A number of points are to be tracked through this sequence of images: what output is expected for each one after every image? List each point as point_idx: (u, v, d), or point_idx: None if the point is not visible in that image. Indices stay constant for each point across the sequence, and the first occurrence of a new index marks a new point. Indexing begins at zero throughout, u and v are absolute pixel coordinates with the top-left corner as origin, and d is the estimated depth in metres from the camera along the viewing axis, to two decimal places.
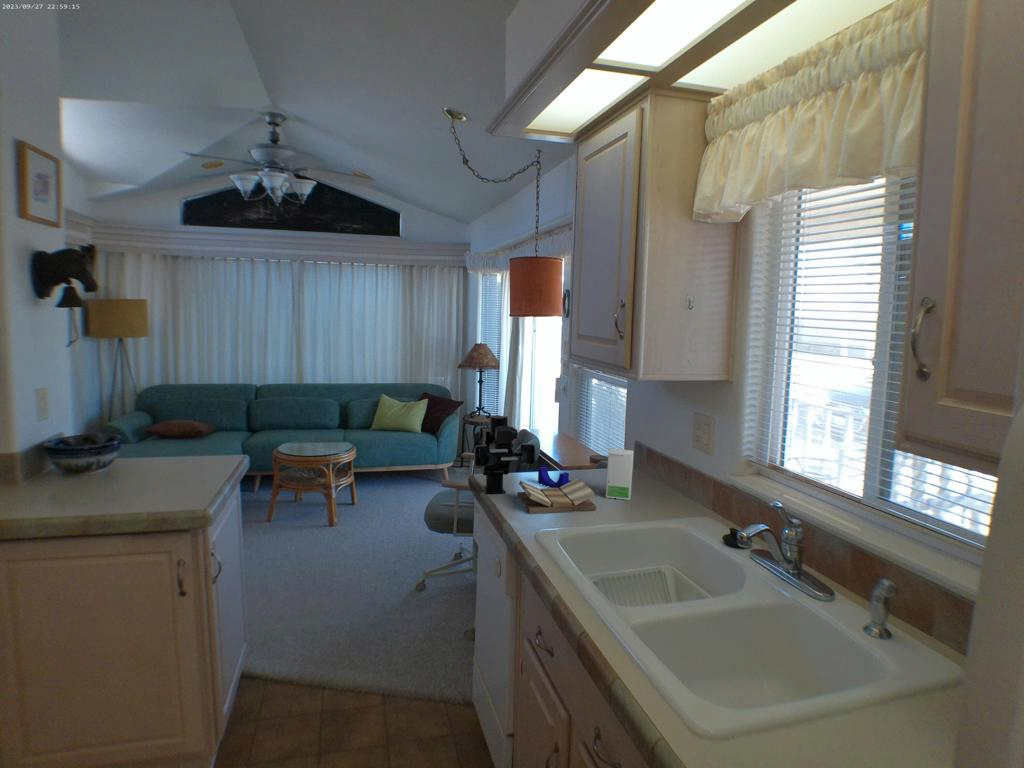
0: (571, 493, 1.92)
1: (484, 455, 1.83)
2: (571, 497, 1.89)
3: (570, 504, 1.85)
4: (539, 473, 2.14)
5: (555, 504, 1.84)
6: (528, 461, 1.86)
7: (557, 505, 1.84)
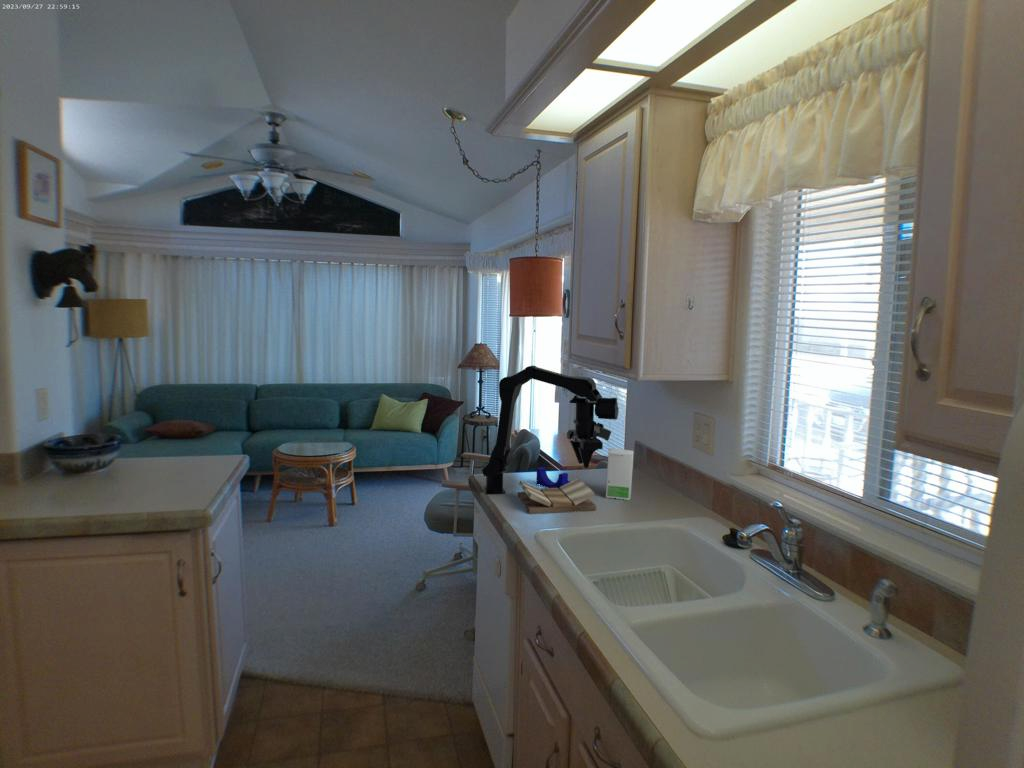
0: (571, 493, 1.92)
1: None
2: (571, 497, 1.89)
3: (570, 504, 1.85)
4: (538, 474, 2.13)
5: (555, 504, 1.84)
6: None
7: (557, 505, 1.84)
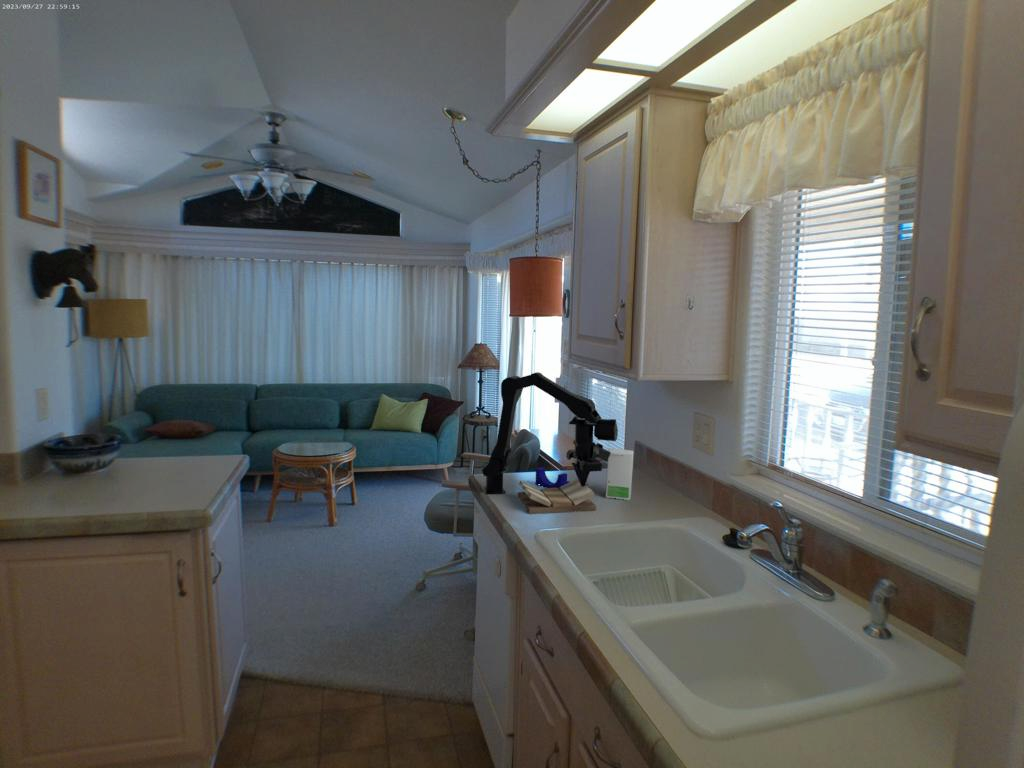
0: (571, 494, 1.92)
1: None
2: (571, 497, 1.89)
3: (570, 504, 1.85)
4: (537, 474, 2.13)
5: (555, 504, 1.84)
6: None
7: (557, 505, 1.84)
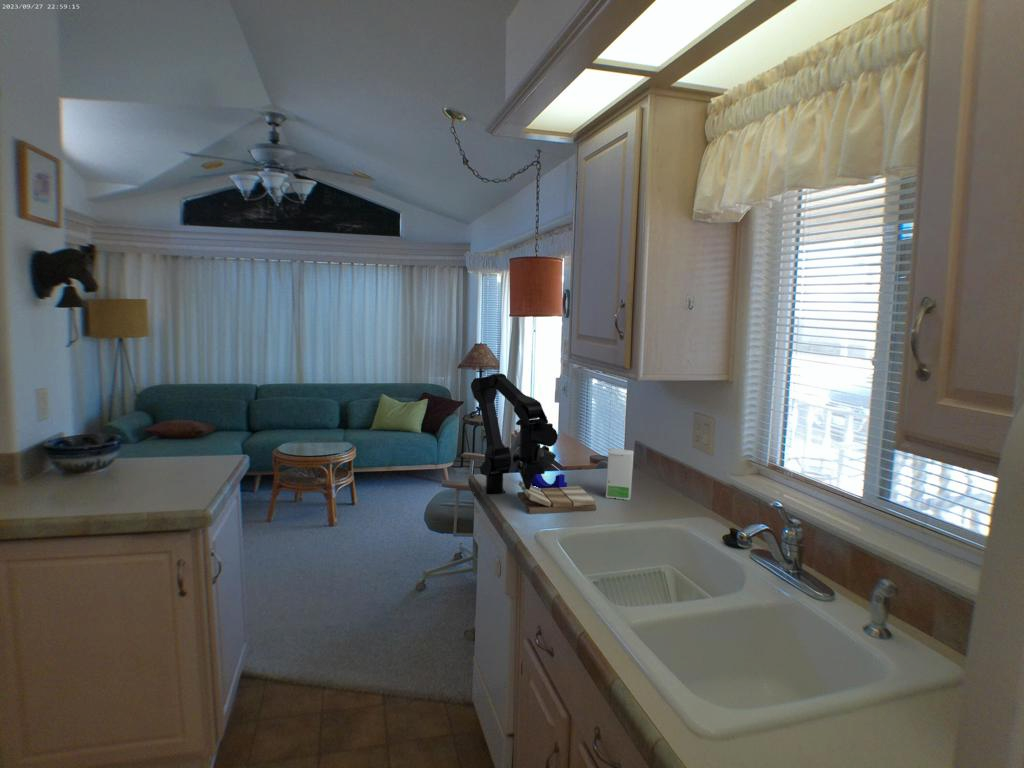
0: (571, 495, 1.92)
1: None
2: (572, 498, 1.89)
3: (570, 504, 1.85)
4: None
5: (555, 504, 1.84)
6: None
7: (557, 505, 1.84)
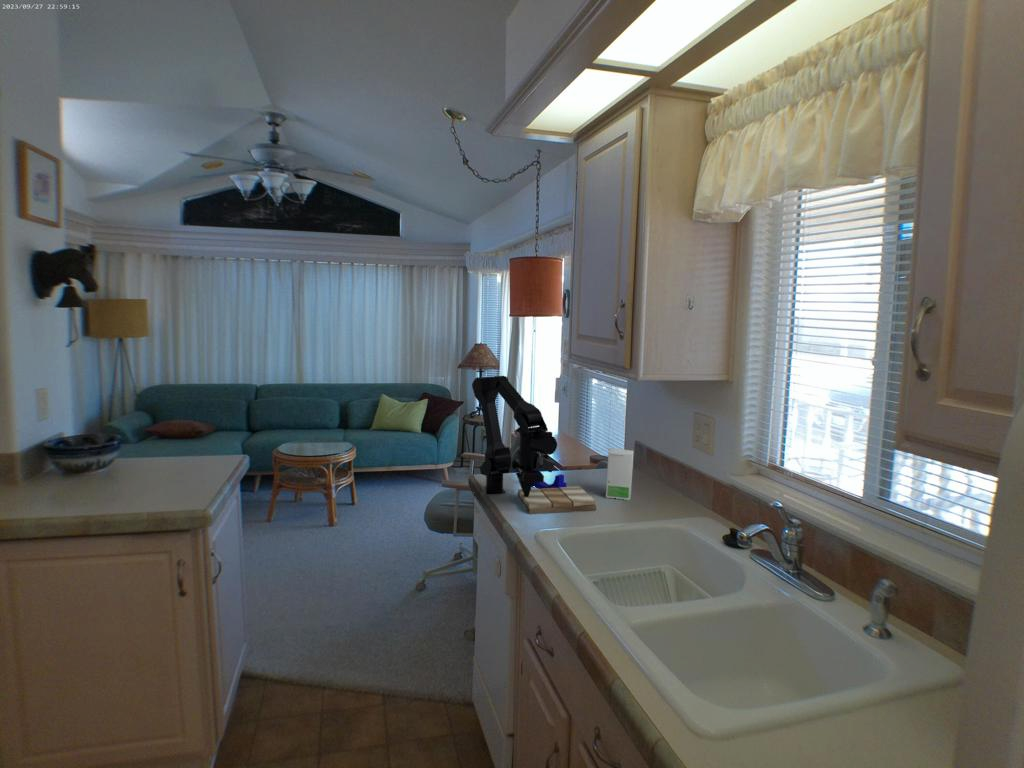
0: (571, 495, 1.92)
1: None
2: (572, 498, 1.89)
3: (570, 504, 1.85)
4: None
5: (555, 504, 1.84)
6: None
7: (557, 505, 1.84)
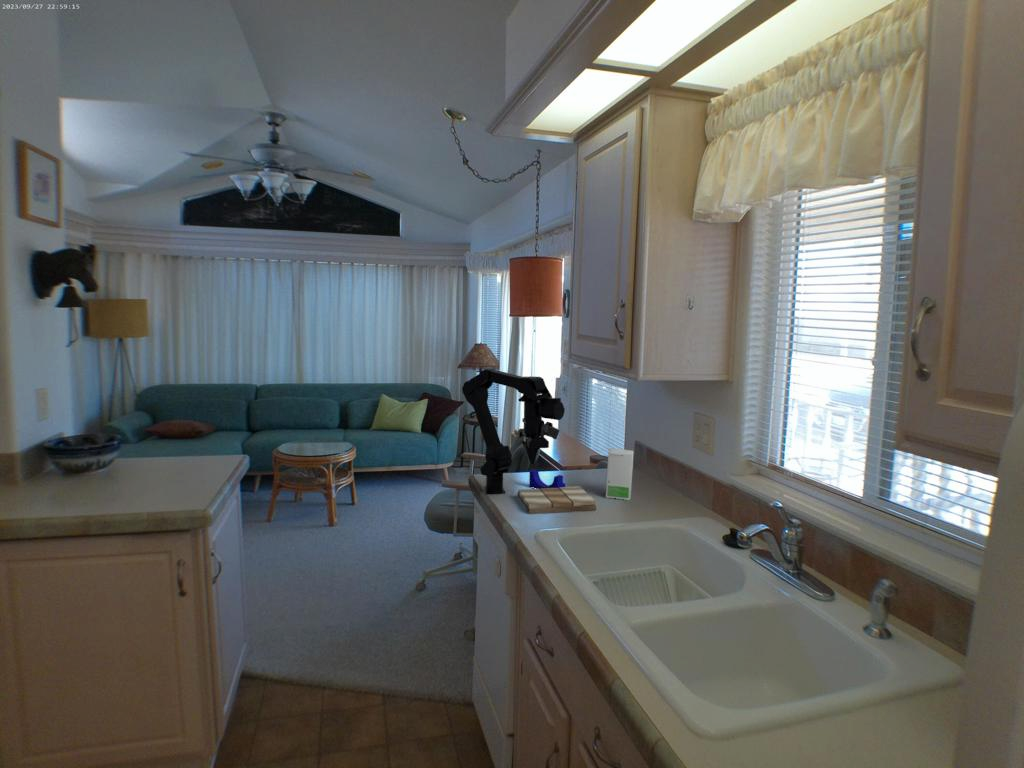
0: (571, 495, 1.92)
1: None
2: (572, 498, 1.89)
3: (570, 504, 1.85)
4: (531, 477, 2.09)
5: (555, 504, 1.84)
6: None
7: (557, 505, 1.84)
